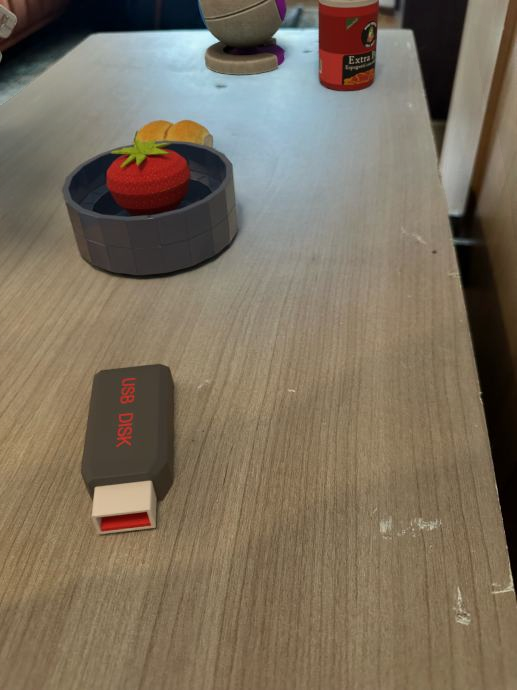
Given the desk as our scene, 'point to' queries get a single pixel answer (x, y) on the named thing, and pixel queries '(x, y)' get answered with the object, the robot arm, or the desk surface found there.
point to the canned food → (347, 43)
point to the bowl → (153, 216)
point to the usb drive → (129, 446)
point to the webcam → (243, 35)
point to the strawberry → (148, 178)
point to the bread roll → (175, 132)
